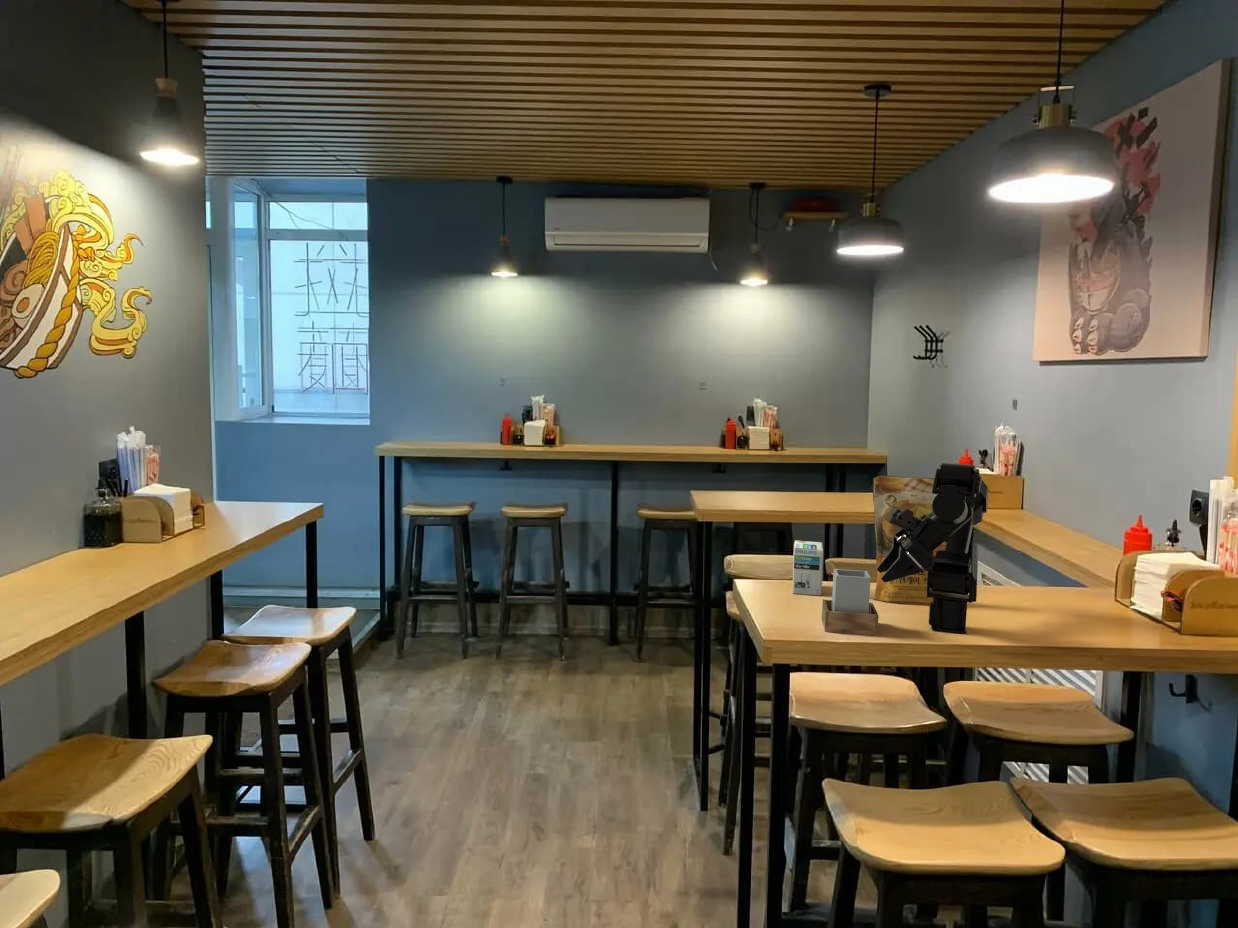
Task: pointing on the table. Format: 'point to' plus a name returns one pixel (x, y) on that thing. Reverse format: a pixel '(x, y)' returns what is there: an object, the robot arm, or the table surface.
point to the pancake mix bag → (902, 495)
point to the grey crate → (851, 591)
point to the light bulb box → (807, 567)
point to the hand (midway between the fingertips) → (880, 575)
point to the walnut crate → (849, 620)
